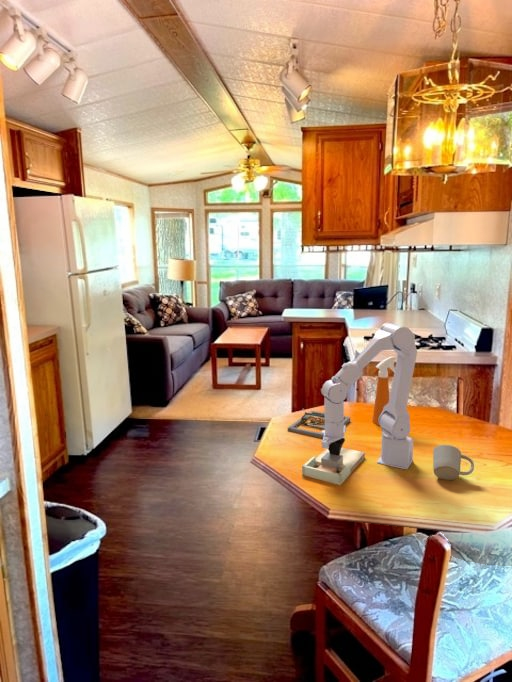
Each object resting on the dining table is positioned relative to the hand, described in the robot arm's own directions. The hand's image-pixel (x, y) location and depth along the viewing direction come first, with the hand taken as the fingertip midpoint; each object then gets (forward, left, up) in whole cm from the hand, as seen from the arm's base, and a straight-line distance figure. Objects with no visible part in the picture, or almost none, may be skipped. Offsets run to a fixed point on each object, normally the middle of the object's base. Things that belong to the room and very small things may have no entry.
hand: (334, 461), depth 148 cm
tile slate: (0, +2, 0) cm, 2 cm away
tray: (0, +6, -3) cm, 7 cm away
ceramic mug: (-32, -11, -3) cm, 34 cm away
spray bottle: (-2, -47, -3) cm, 47 cm away
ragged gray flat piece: (+19, -29, -3) cm, 35 cm away
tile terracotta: (0, +7, -2) cm, 7 cm away
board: (0, -5, -3) cm, 5 cm away
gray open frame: (+18, -29, -3) cm, 34 cm away
